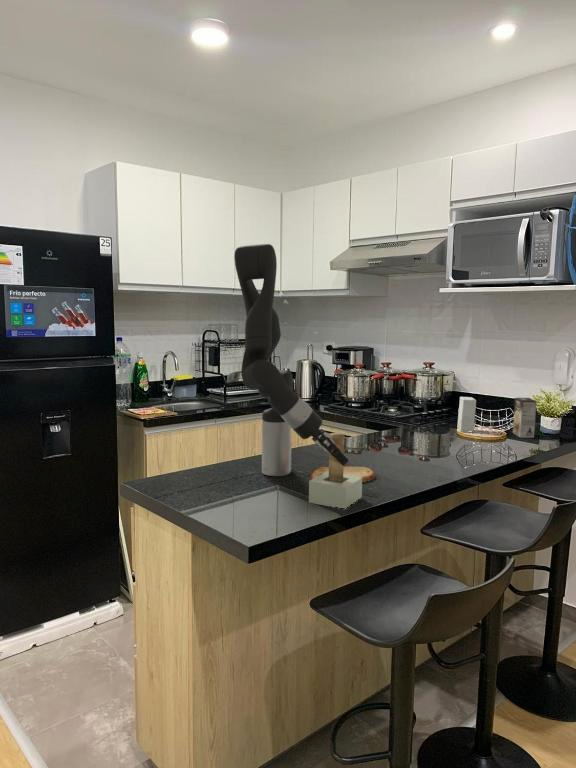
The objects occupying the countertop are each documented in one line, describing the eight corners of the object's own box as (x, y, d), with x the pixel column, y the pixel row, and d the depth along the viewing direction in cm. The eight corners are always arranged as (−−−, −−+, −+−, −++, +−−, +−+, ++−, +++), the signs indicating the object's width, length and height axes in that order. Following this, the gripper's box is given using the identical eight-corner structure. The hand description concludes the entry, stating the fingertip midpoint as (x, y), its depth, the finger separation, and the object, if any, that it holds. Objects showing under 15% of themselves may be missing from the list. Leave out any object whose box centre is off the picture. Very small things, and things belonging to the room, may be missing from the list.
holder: (326, 491, 167) (326, 471, 166) (361, 498, 161) (362, 477, 161) (308, 502, 157) (309, 480, 156) (345, 509, 152) (346, 487, 151)
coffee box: (511, 433, 255) (514, 397, 253) (526, 433, 255) (528, 397, 253) (519, 437, 246) (522, 400, 244) (534, 438, 246) (537, 400, 244)
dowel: (332, 481, 161) (333, 432, 160) (345, 483, 159) (346, 433, 158) (326, 484, 158) (327, 434, 156) (339, 487, 156) (340, 436, 154)
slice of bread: (377, 475, 186) (378, 464, 185) (363, 491, 169) (363, 478, 169) (325, 469, 193) (325, 458, 192) (306, 483, 176) (306, 471, 176)
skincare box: (456, 428, 263) (458, 396, 261) (470, 429, 263) (472, 396, 261) (460, 432, 255) (462, 399, 253) (474, 432, 255) (476, 399, 253)
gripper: (317, 412, 148) (361, 457, 151) (305, 404, 162) (345, 445, 165) (296, 433, 147) (341, 477, 151) (286, 422, 161) (327, 464, 165)
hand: (343, 460), depth 158 cm, fingers closed on dowel, 4 cm apart
